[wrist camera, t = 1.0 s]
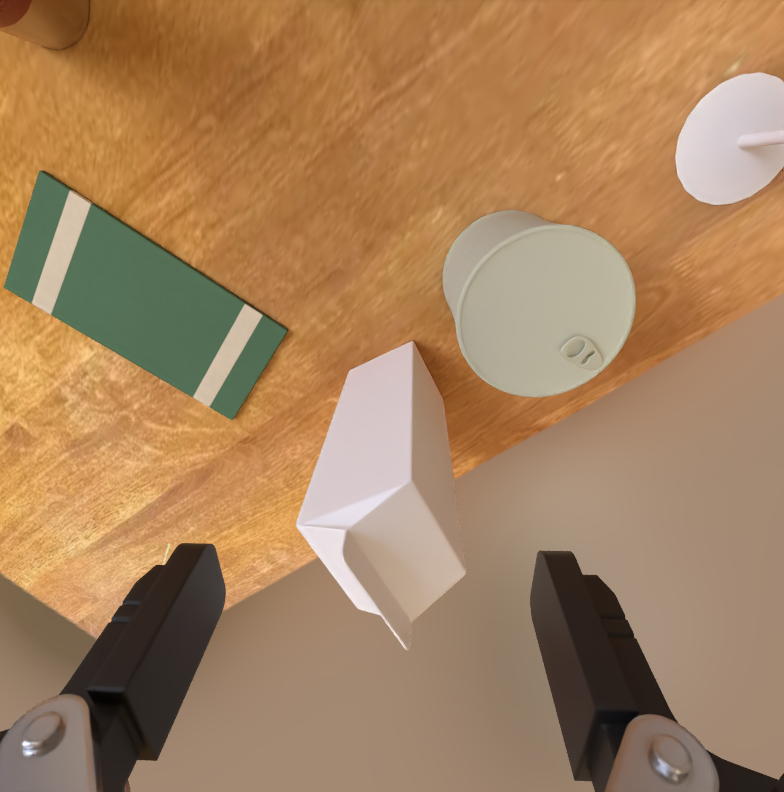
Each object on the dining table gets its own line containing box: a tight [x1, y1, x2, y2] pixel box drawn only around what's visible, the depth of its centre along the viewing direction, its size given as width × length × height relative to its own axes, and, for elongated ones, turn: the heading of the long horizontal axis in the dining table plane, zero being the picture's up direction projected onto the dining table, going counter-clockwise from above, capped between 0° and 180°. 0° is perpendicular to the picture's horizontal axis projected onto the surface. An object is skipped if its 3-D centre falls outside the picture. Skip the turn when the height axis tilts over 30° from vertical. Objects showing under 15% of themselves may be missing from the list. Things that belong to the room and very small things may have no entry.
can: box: [443, 210, 636, 397], centre depth 28 cm, size 9×9×12 cm
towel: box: [4, 171, 288, 420], centre depth 36 cm, size 10×20×1 cm, turn 55°
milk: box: [296, 341, 466, 650], centre depth 28 cm, size 6×6×22 cm
